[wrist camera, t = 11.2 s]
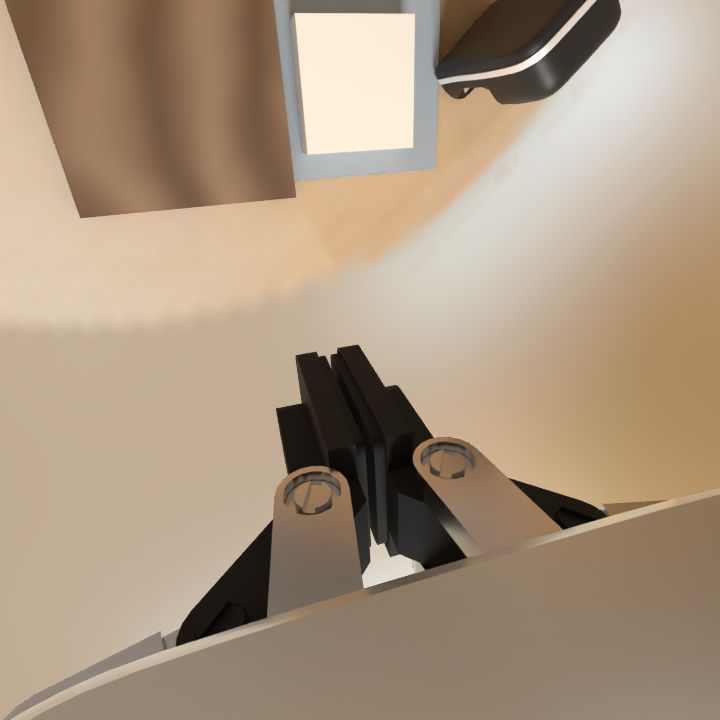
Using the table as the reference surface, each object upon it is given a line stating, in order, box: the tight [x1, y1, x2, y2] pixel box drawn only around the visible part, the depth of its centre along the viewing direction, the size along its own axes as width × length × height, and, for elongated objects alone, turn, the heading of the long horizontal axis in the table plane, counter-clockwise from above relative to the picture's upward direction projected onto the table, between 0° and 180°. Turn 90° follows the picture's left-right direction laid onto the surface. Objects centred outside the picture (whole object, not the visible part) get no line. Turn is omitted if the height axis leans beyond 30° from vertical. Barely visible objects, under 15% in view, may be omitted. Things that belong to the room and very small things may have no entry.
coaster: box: [289, 13, 415, 155], centre depth 31 cm, size 8×8×2 cm
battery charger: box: [434, 0, 621, 104], centre depth 29 cm, size 7×4×11 cm, turn 133°
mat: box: [273, 0, 441, 181], centre depth 32 cm, size 12×13×1 cm
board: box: [5, 0, 296, 218], centre depth 29 cm, size 15×15×2 cm
